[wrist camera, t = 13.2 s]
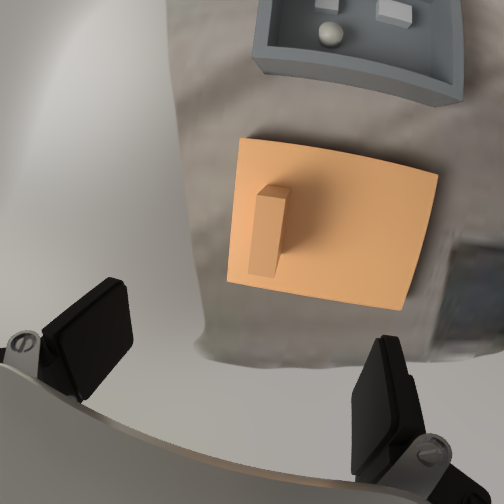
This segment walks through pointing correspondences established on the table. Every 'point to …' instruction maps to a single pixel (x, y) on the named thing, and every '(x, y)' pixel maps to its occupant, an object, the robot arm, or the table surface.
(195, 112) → the table surface
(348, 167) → the lid
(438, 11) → the tub
